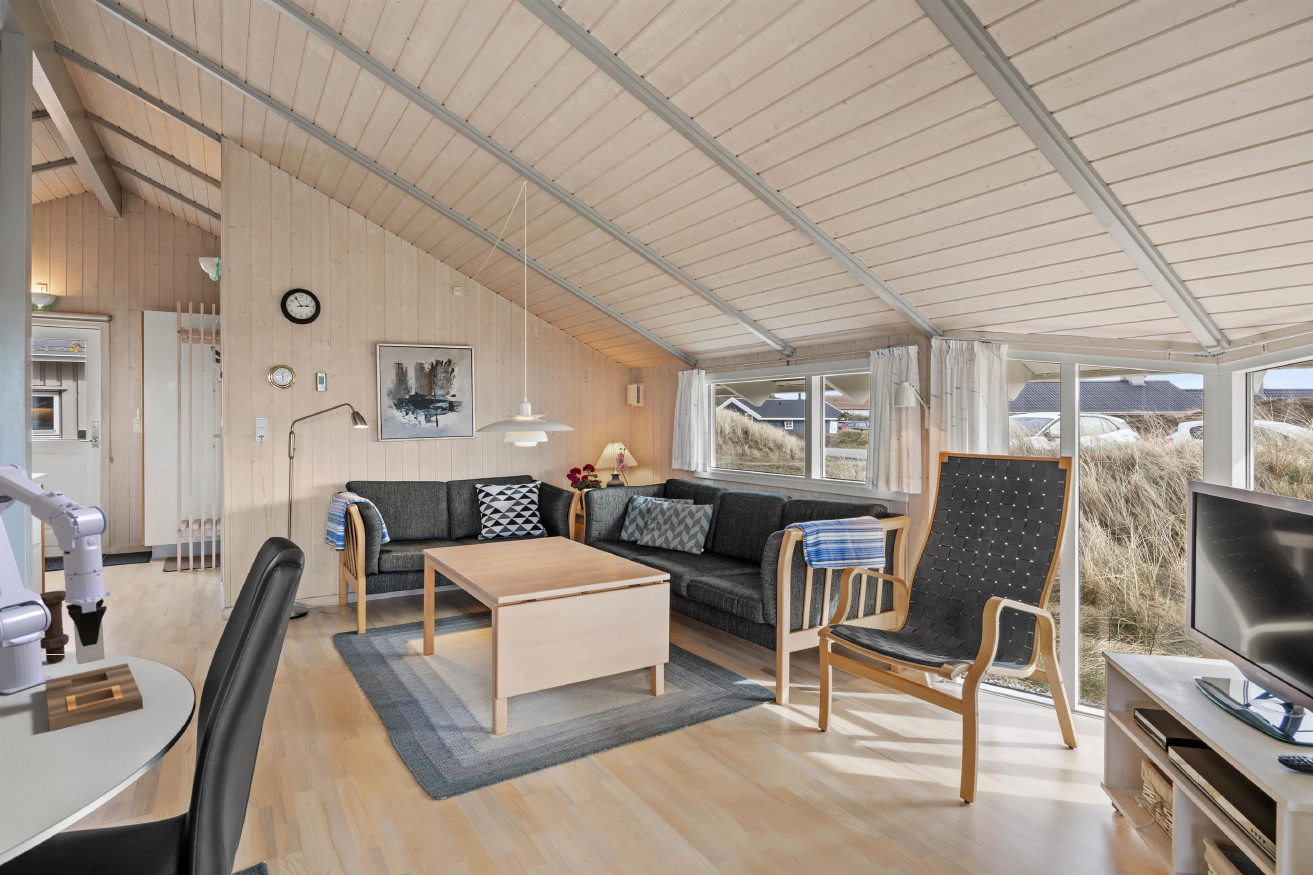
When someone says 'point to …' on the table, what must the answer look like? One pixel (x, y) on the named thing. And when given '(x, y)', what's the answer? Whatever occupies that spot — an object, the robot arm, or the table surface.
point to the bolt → (54, 627)
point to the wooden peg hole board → (91, 696)
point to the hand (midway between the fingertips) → (88, 642)
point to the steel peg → (89, 648)
